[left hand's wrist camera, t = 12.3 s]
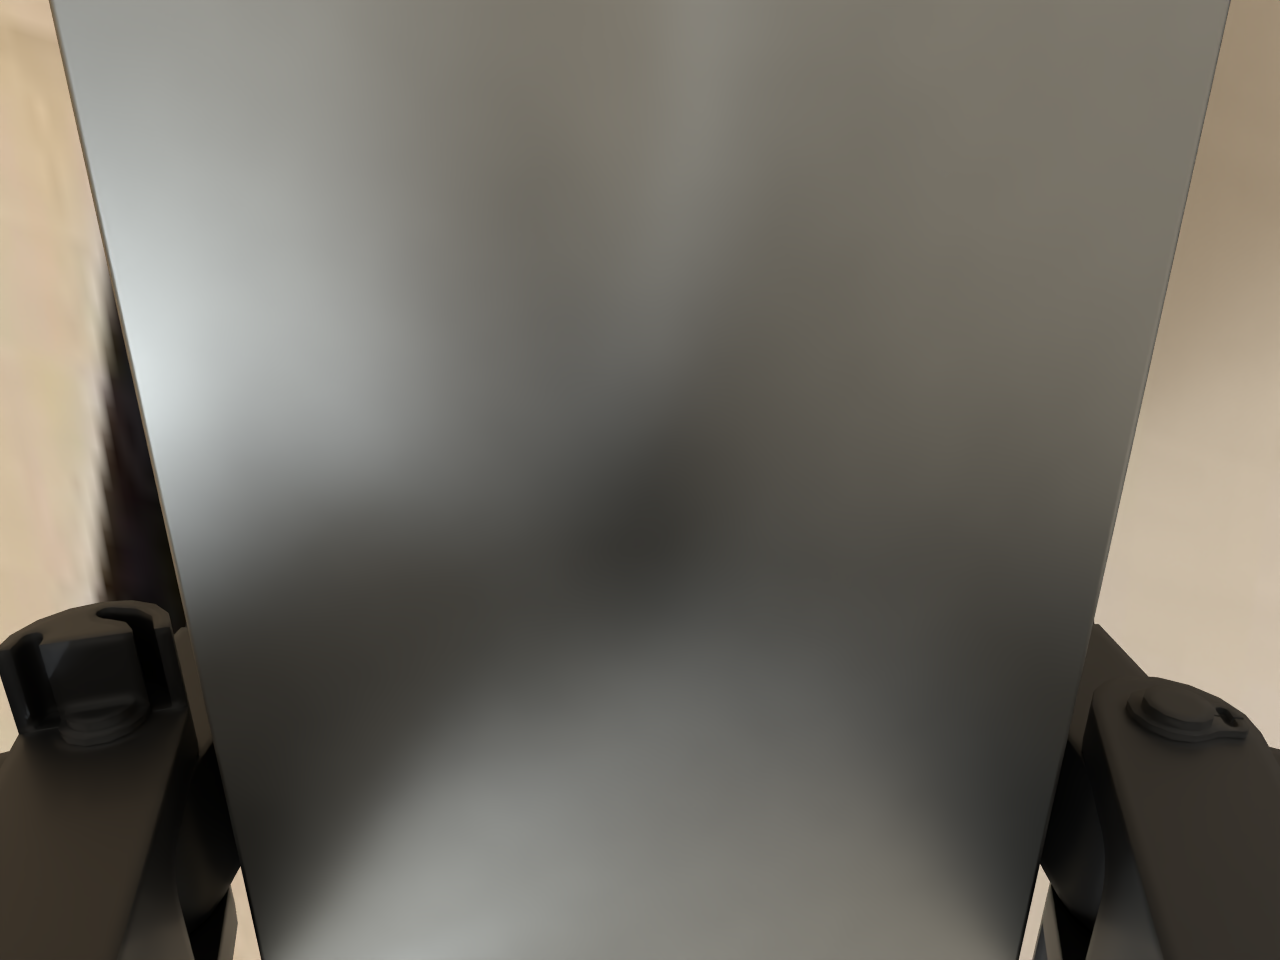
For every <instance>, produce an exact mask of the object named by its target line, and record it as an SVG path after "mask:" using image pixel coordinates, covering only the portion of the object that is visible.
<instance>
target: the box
mask: <svg viewBox="0 0 1280 960" xmlns="http://www.w3.org/2000/svg"><path fill="white" fill-rule="evenodd" d="M1230 1H1231V0H49V3H50V8H51V12H52V17H53V21H54V26H55V30H56V35H57V39H58V44H59V48H60V53H61V57H62V62H63V66H64V71H65V75H66V80H67V84H68V89H69V93H70V98H71V102H72V107H73V111H74V116H75V120H76V125H77V129H78V134H79V139H80V143H81V148H82V152H83V157H84V161H85V166H86V170H87V175H88V179H89V184H90V188H91V193H92V197H93V202H94V206H95V211H96V215H97V220H98V224H99V229H100V233H101V238H102V242H103V247H104V251H105V256H106V260H107V265H108V269H109V274H110V278H111V283H112V287H113V292H114V297H115V301H116V306H117V310H118V315H119V319H120V324H121V328H122V333H123V337H124V342H125V346H126V351H127V355H128V360H129V364H130V369H131V373H132V378H133V382H134V387H135V391H136V396H137V400H138V405H139V409H140V414H141V418H142V423H143V427H144V432H145V436H146V441H147V446H148V450H149V455H150V459H151V464H152V468H153V473H154V477H155V482H156V486H157V491H158V495H159V500H160V504H161V509H162V513H163V518H164V522H165V527H166V531H167V536H168V540H169V545H170V549H171V554H172V558H173V563H174V567H175V572H176V576H177V581H178V585H179V590H180V594H181V599H182V604H183V608H184V613H185V617H186V622H187V626H188V631H189V635H190V640H191V644H192V649H193V653H194V658H195V662H196V667H197V671H198V676H199V680H200V685H201V689H202V694H203V698H204V703H205V707H206V712H207V716H208V721H209V725H210V730H211V734H212V739H213V743H214V748H215V753H216V757H217V762H218V766H219V771H220V775H221V780H222V784H223V789H224V793H225V798H226V802H227V807H228V811H229V816H230V820H231V825H232V829H233V834H234V838H235V843H236V847H237V852H238V856H239V861H240V865H241V870H242V874H243V879H244V883H245V888H246V892H247V897H248V901H249V906H250V911H251V915H252V920H253V924H254V929H255V933H256V938H257V942H258V947H259V951H260V956H261V960H1019V956H1020V951H1021V947H1022V942H1023V938H1024V933H1025V929H1026V924H1027V920H1028V915H1029V911H1030V906H1031V902H1032V897H1033V893H1034V888H1035V884H1036V879H1037V875H1038V870H1039V865H1040V861H1041V856H1042V852H1043V847H1044V843H1045V838H1046V834H1047V829H1048V825H1049V820H1050V816H1051V811H1052V807H1053V802H1054V798H1055V793H1056V789H1057V784H1058V779H1059V775H1060V770H1061V766H1062V761H1063V757H1064V752H1065V748H1066V743H1067V739H1068V734H1069V730H1070V725H1071V721H1072V716H1073V712H1074V707H1075V703H1076V698H1077V693H1078V689H1079V684H1080V680H1081V675H1082V671H1083V666H1084V662H1085V657H1086V653H1087V648H1088V644H1089V639H1090V635H1091V630H1092V626H1093V621H1094V617H1095V612H1096V607H1097V603H1098V598H1099V594H1100V589H1101V585H1102V580H1103V576H1104V571H1105V567H1106V562H1107V558H1108V553H1109V549H1110V544H1111V540H1112V535H1113V531H1114V526H1115V521H1116V517H1117V512H1118V508H1119V503H1120V499H1121V494H1122V490H1123V485H1124V481H1125V476H1126V472H1127V467H1128V463H1129V458H1130V454H1131V449H1132V445H1133V440H1134V435H1135V431H1136V426H1137V422H1138V417H1139V413H1140V408H1141V404H1142V399H1143V395H1144V390H1145V386H1146V381H1147V377H1148V372H1149V368H1150V363H1151V359H1152V354H1153V349H1154V345H1155V340H1156V336H1157V331H1158V327H1159V322H1160V318H1161V313H1162V309H1163V304H1164V300H1165V295H1166V291H1167V286H1168V282H1169V277H1170V273H1171V268H1172V264H1173V259H1174V254H1175V250H1176V245H1177V241H1178V236H1179V232H1180V227H1181V223H1182V218H1183V214H1184V209H1185V205H1186V200H1187V196H1188V191H1189V187H1190V182H1191V178H1192V173H1193V168H1194V164H1195V159H1196V155H1197V150H1198V146H1199V141H1200V137H1201V132H1202V128H1203V123H1204V119H1205V114H1206V110H1207V105H1208V101H1209V96H1210V92H1211V87H1212V82H1213V78H1214V73H1215V69H1216V64H1217V60H1218V55H1219V51H1220V46H1221V42H1222V37H1223V33H1224V28H1225V24H1226V19H1227V15H1228V10H1229V6H1230Z"/></svg>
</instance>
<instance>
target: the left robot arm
mask: <svg viewBox="0 0 1280 960" xmlns="http://www.w3.org/2000/svg"><path fill="white" fill-rule="evenodd" d="M0 676H1V679H2V682H3V686H4V689H5V692H6V695H7V698H8V701H9V704H10V708H11V711H12V714H13V717H14V720H15V723H16V726H17V729H18V733H19V735H18V737H17V739H16V741H15V742H14V744H13V746H12V748H11V750H10V751H9V752H5V753H0V960H233V954H234V946H235V939H236V932H237V925H238V922H237V915H236V908H235V902H234V898H233V893H232V889H231V885H230V884H231V882H232V881H233V879H234V877H235V875H236V873H237V871H238V870H239V868H240V866H241V865H240V861H239V856H238V852H237V847H236V843H235V838H234V834H233V829H232V825H231V820H230V816H229V811H228V807H227V802H226V798H225V793H224V789H223V784H222V780H221V775H220V771H219V766H218V762H217V757H216V753H215V748H214V743H213V739H212V734H211V730H210V725H209V721H208V716H207V712H206V707H205V703H204V698H203V694H202V689H201V685H200V680H199V676H198V671H197V667H196V662H195V658H194V653H193V649H192V644H191V640H190V635H189V631H188V626H187V622H186V627H181V628H180V629H179V630H178V631H177V633H176V634H175V635H173V630H172V626H171V622H170V617H169V613H167V612H166V611H164V610H163V609H162V608H160V607H159V606H157V605H156V604H151V603H145V602H139V601H133V600H131V601H111V602H100V603H95V604H90V605H86V606H81V607H76V608H71V609H68V610H65V611H62V612H59V613H57V614H54V615H51V616H48V617H45V618H43V619H40V620H37V621H35V622H34V623H32V624H30V625H28V626H26V627H24V628H23V629H21V630H19V631H17V632H15V633H14V634H12V635H10V636H9V637H8V638H7V639H6V640H5V641H4V642H3V643H2V644H1V645H0ZM1040 864H1041V866H1042V868H1043V870H1044V872H1045V873H1046V875H1047V877H1048V879H1049V881H1050V885H1049V889H1048V893H1047V898H1046V902H1045V907H1044V911H1043V915H1042V920H1041V924H1040V929H1039V933H1038V937H1037V942H1036V946H1035V950H1034V955H1033V959H1032V960H1280V749H1276V748H1272V747H1269V746H1268V744H1267V742H1266V741H1265V739H1264V737H1263V735H1262V733H1261V732H1260V731H1259V730H1258V729H1257V728H1256V726H1255V725H1254V724H1253V723H1252V722H1251V721H1250V720H1249V718H1248V717H1247V716H1246V715H1245V714H1243V713H1242V712H1240V711H1239V710H1237V709H1236V708H1234V707H1233V706H1231V705H1230V704H1228V703H1227V702H1225V701H1224V700H1222V699H1221V698H1219V697H1216V696H1214V695H1212V694H1209V693H1207V692H1204V691H1202V690H1200V689H1197V688H1195V687H1193V686H1190V685H1187V684H1183V683H1179V682H1175V681H1170V680H1166V679H1162V678H1158V677H1148V676H1147V675H1146V674H1145V673H1144V672H1143V670H1142V669H1141V668H1140V667H1139V666H1138V665H1137V664H1136V663H1135V662H1134V661H1133V660H1132V659H1131V658H1130V657H1129V656H1128V655H1127V654H1126V653H1125V651H1124V650H1123V649H1122V648H1121V647H1120V646H1119V645H1118V644H1117V643H1116V642H1115V641H1114V640H1113V639H1112V638H1111V637H1110V636H1109V635H1108V633H1107V632H1106V631H1105V630H1104V629H1103V628H1102V627H1101V626H1100V625H1099V624H1094V621H1093V626H1092V630H1091V635H1090V639H1089V644H1088V648H1087V653H1086V657H1085V662H1084V666H1083V671H1082V675H1081V680H1080V684H1079V689H1078V693H1077V698H1076V703H1075V707H1074V712H1073V716H1072V721H1071V725H1070V730H1069V734H1068V739H1067V743H1066V748H1065V752H1064V757H1063V761H1062V766H1061V770H1060V775H1059V779H1058V784H1057V789H1056V793H1055V798H1054V802H1053V807H1052V811H1051V816H1050V820H1049V825H1048V829H1047V834H1046V838H1045V843H1044V847H1043V852H1042V856H1041V861H1040Z"/></svg>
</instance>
